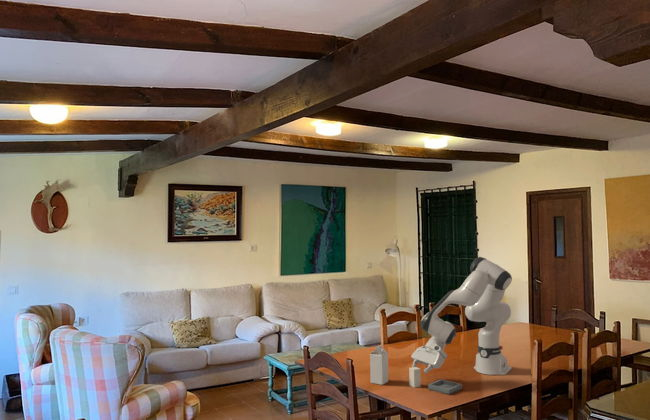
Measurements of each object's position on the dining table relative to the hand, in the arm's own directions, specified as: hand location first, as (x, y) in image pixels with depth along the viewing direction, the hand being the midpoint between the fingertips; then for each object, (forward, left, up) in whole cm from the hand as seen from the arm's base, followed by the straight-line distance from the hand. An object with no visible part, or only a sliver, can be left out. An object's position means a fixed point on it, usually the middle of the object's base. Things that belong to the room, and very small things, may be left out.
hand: (418, 370), depth 252 cm
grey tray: (-4, +13, -8) cm, 15 cm away
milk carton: (+10, -18, -8) cm, 22 cm away
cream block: (+2, -1, -8) cm, 8 cm away
